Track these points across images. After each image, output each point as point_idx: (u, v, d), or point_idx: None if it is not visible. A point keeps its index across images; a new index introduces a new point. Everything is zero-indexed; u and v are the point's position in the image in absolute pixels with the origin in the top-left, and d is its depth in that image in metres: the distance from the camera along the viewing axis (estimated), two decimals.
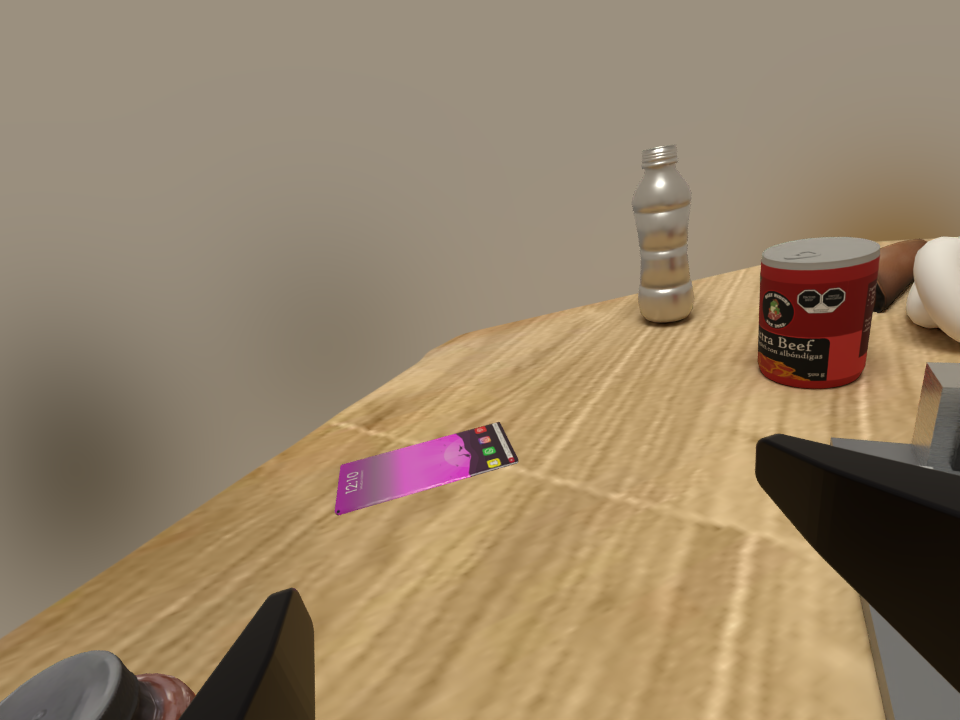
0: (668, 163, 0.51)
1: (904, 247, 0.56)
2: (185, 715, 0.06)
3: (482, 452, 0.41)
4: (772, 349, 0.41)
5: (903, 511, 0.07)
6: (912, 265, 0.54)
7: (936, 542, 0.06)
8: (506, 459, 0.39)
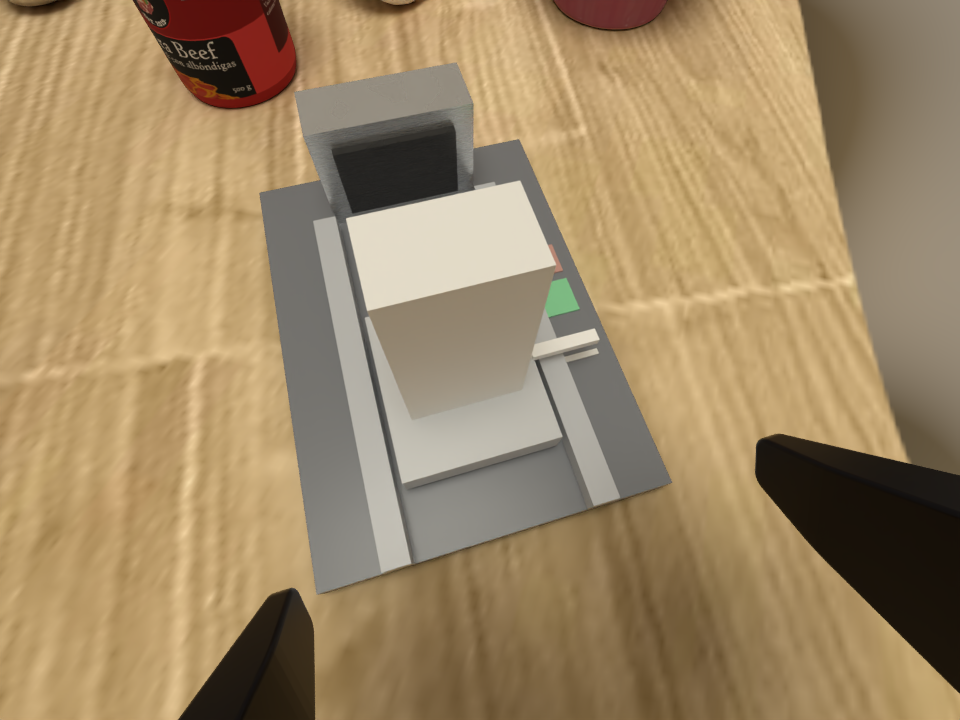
0: None
1: None
2: (185, 715, 0.06)
3: None
4: (176, 60, 0.29)
5: (903, 511, 0.07)
6: None
7: (935, 543, 0.06)
8: None
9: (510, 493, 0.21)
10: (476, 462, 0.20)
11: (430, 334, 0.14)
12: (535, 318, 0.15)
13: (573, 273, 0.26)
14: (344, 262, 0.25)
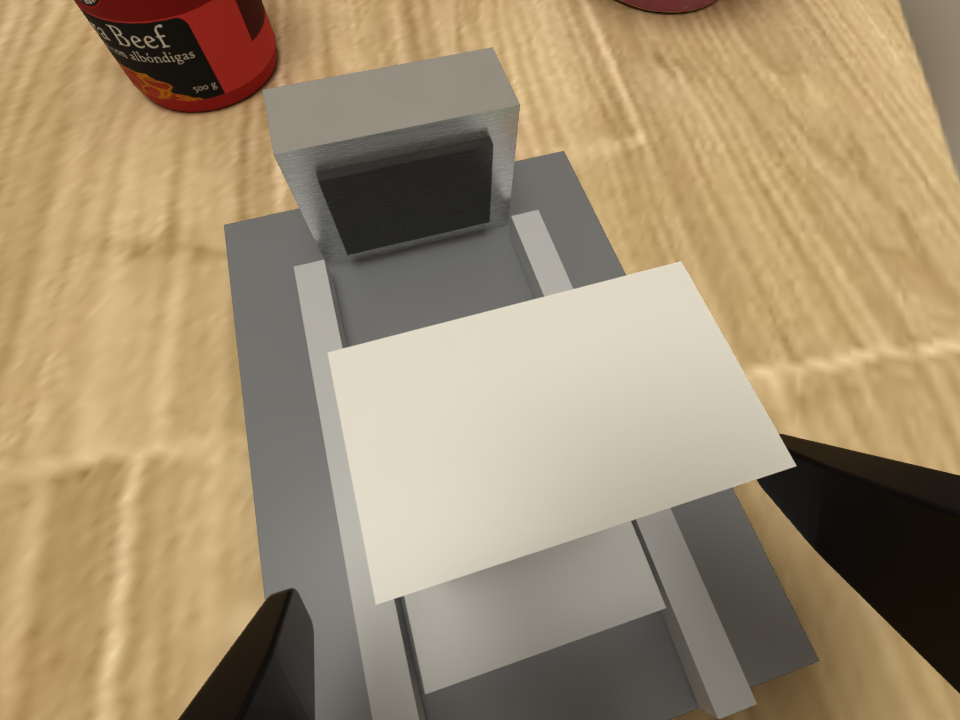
0: None
1: None
2: (185, 715, 0.06)
3: None
4: (117, 50, 0.23)
5: (903, 511, 0.07)
6: None
7: (935, 543, 0.06)
8: None
9: (583, 682, 0.14)
10: (537, 652, 0.13)
11: None
12: None
13: None
14: (336, 326, 0.18)
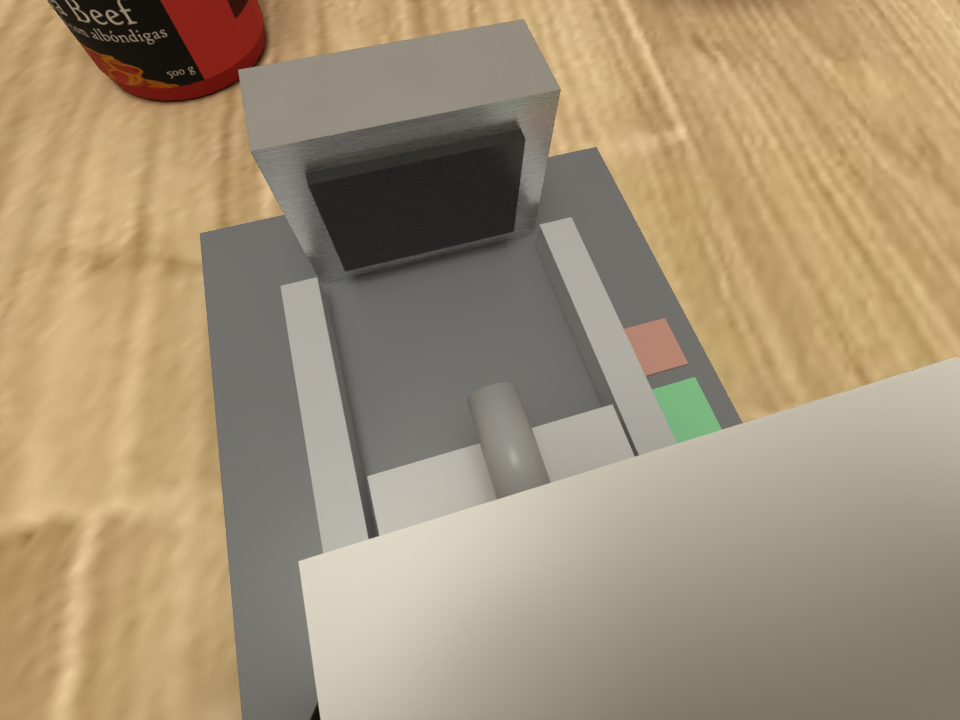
0: None
1: None
2: None
3: None
4: (76, 27, 0.19)
5: None
6: None
7: None
8: None
9: None
10: None
11: None
12: None
13: (704, 367, 0.16)
14: (331, 360, 0.15)
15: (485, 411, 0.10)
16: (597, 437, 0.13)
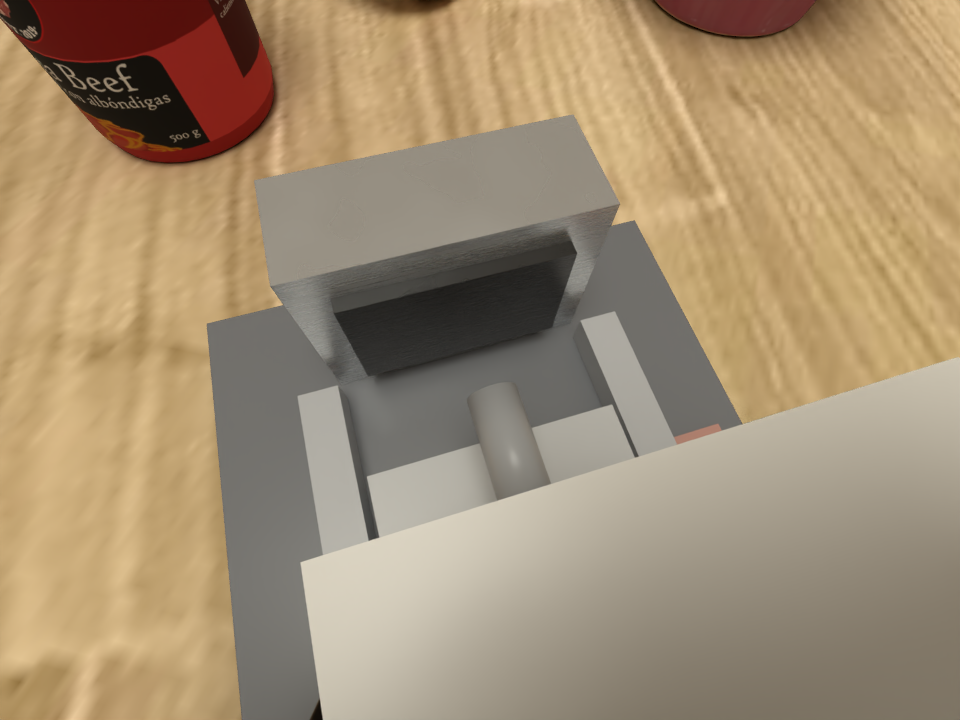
0: None
1: None
2: None
3: None
4: (71, 92, 0.18)
5: None
6: None
7: None
8: None
9: None
10: None
11: None
12: None
13: None
14: (356, 487, 0.13)
15: (485, 411, 0.10)
16: (597, 437, 0.13)
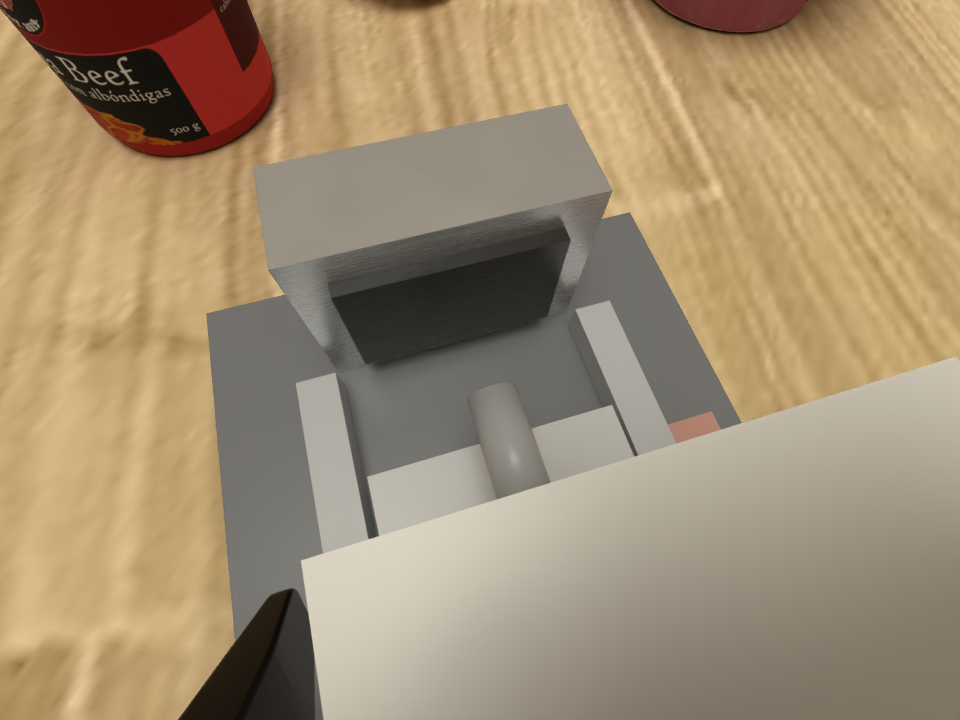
0: None
1: None
2: (185, 715, 0.06)
3: None
4: (73, 86, 0.18)
5: None
6: None
7: None
8: None
9: None
10: None
11: None
12: None
13: None
14: (353, 472, 0.13)
15: (485, 411, 0.10)
16: (597, 437, 0.13)
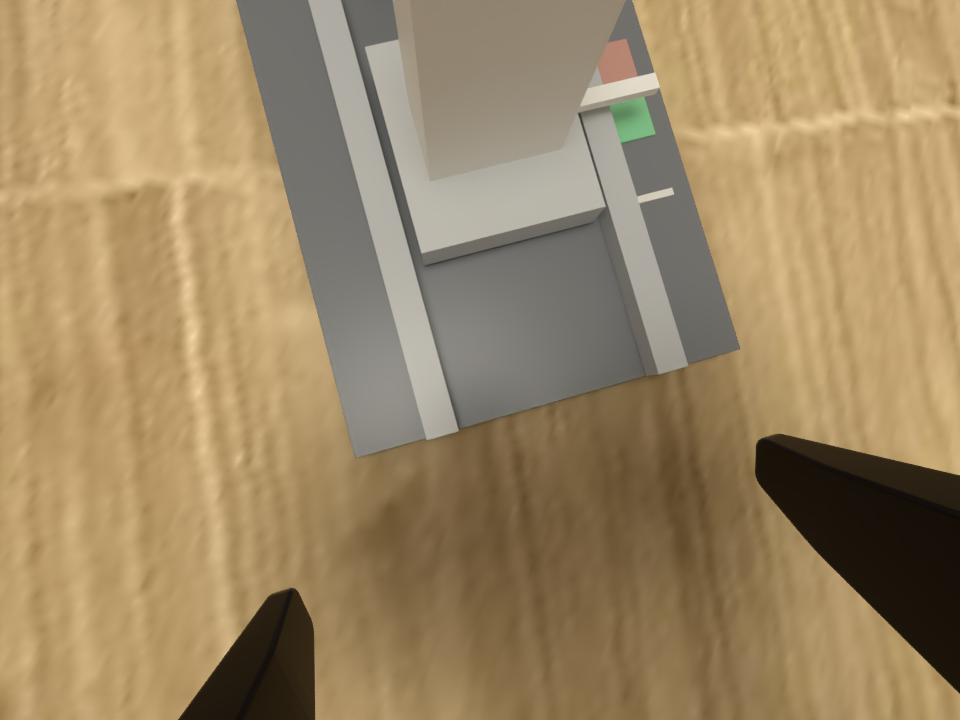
0: None
1: None
2: (185, 715, 0.06)
3: None
4: None
5: (903, 511, 0.07)
6: None
7: (935, 543, 0.06)
8: None
9: (562, 357, 0.19)
10: (505, 233, 0.17)
11: (479, 6, 0.10)
12: (617, 1, 0.11)
13: None
14: (354, 53, 0.18)
15: None
16: None
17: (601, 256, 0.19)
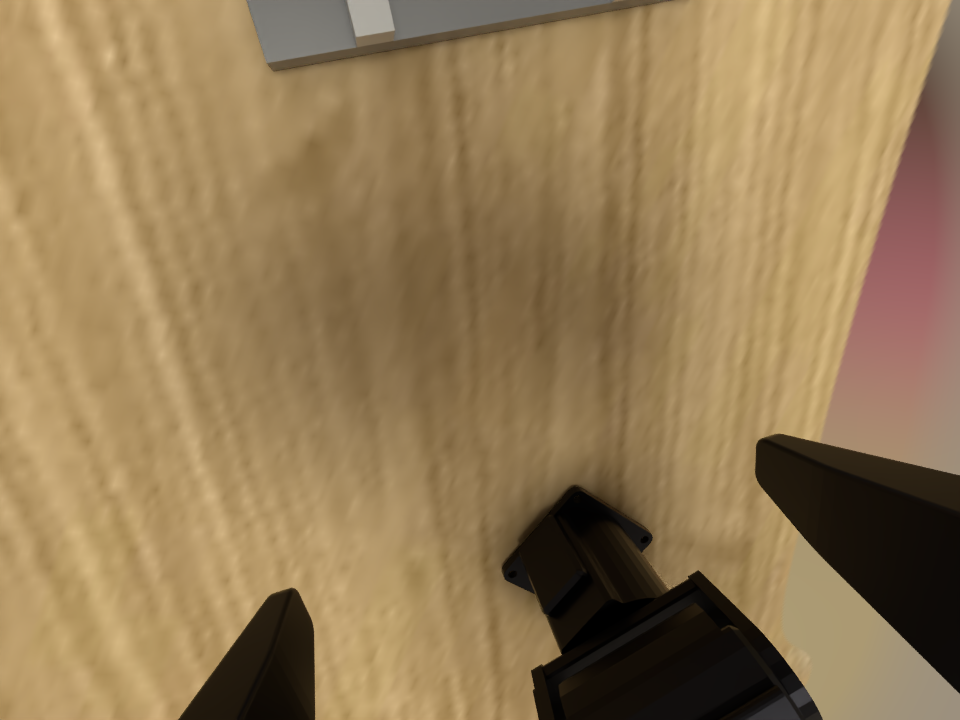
0: None
1: None
2: (185, 715, 0.06)
3: None
4: None
5: (903, 511, 0.07)
6: None
7: (935, 543, 0.06)
8: None
9: None
10: None
11: None
12: None
13: None
14: None
15: None
16: None
17: None
